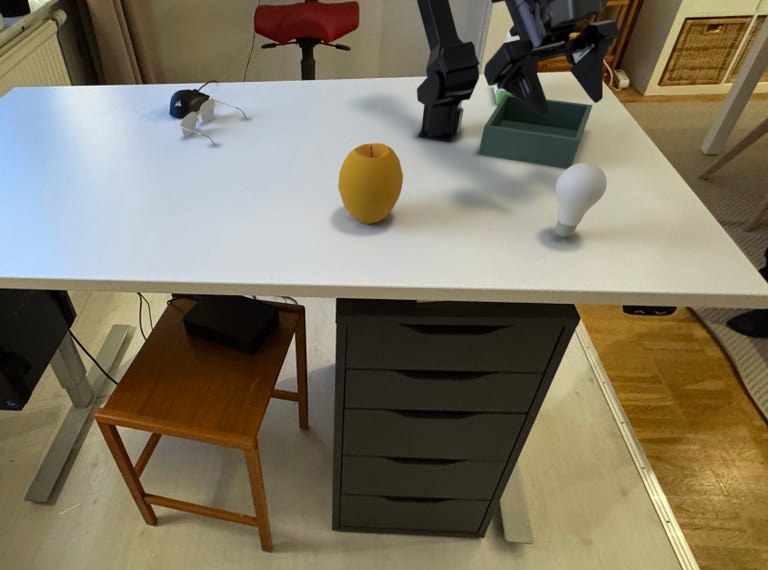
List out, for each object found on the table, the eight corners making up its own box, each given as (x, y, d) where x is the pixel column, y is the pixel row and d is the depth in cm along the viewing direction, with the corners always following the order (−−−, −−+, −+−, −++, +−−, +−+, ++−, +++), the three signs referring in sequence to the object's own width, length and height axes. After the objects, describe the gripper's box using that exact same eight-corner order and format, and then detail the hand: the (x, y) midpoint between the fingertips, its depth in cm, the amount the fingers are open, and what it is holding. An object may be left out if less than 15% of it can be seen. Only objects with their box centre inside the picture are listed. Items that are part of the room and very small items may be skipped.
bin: (478, 154, 98) (484, 126, 95) (499, 120, 108) (504, 94, 104) (570, 169, 93) (579, 140, 89) (583, 132, 102) (592, 104, 98)
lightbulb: (587, 229, 80) (615, 158, 72) (583, 251, 76) (612, 179, 69) (543, 221, 82) (565, 151, 74) (537, 243, 78) (561, 172, 71)
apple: (373, 194, 91) (377, 124, 82) (413, 219, 85) (422, 146, 76) (326, 214, 87) (325, 143, 79) (364, 241, 81) (368, 167, 73)
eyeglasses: (215, 114, 118) (214, 95, 115) (248, 121, 116) (247, 102, 113) (180, 141, 110) (178, 121, 107) (215, 149, 107) (213, 129, 104)
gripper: (511, -31, 66) (558, 85, 65) (630, -53, 70) (675, 56, 70) (465, 34, 77) (504, 134, 76) (570, 12, 81) (608, 106, 80)
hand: (572, 107), depth 75 cm, fingers open, 9 cm apart
